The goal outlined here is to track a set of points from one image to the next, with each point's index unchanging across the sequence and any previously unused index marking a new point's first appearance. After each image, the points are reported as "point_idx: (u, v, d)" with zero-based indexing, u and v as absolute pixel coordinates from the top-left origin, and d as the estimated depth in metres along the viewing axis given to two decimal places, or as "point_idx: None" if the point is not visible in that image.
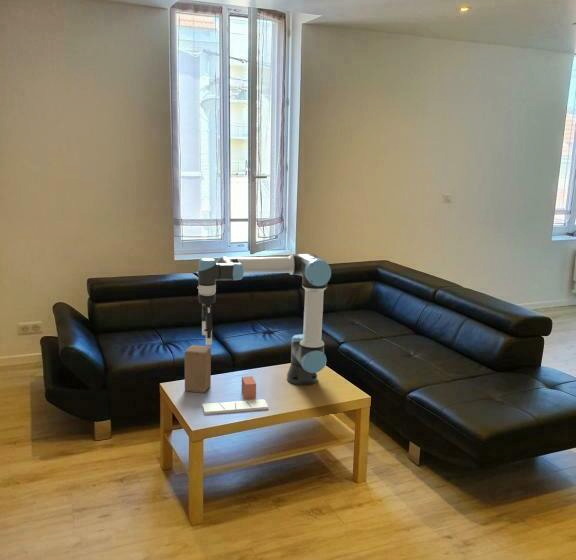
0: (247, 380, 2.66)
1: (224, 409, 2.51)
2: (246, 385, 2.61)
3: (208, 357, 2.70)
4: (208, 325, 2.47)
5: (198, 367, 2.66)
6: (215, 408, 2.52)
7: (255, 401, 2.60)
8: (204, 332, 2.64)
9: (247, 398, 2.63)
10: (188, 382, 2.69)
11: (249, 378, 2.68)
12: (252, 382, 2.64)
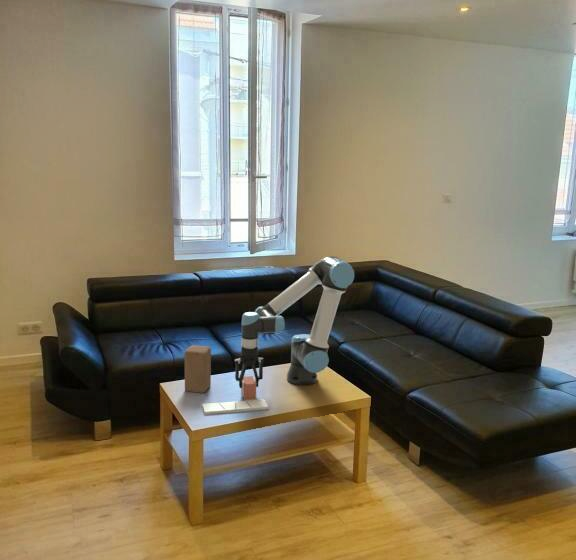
0: (247, 380, 2.66)
1: (224, 409, 2.51)
2: (246, 385, 2.61)
3: (208, 357, 2.70)
4: (235, 375, 2.64)
5: (198, 367, 2.66)
6: (215, 408, 2.52)
7: (255, 401, 2.60)
8: None
9: (247, 398, 2.63)
10: (188, 382, 2.69)
11: (249, 378, 2.68)
12: (252, 382, 2.64)
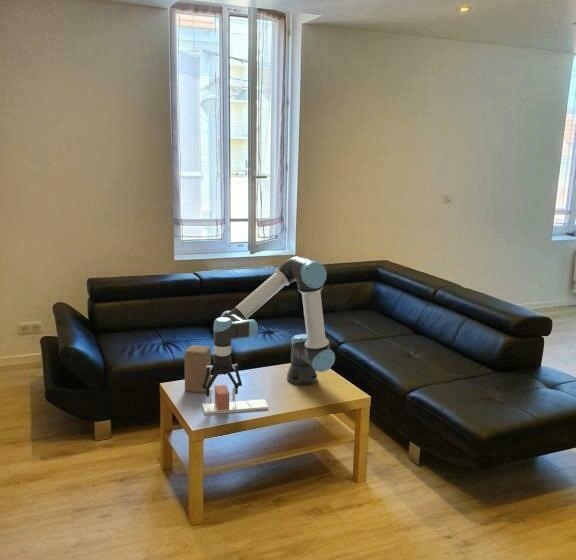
0: (220, 389, 2.51)
1: None
2: (219, 395, 2.47)
3: (208, 357, 2.70)
4: (203, 382, 2.49)
5: (198, 367, 2.66)
6: (215, 408, 2.52)
7: (255, 401, 2.60)
8: None
9: (220, 408, 2.49)
10: (188, 382, 2.69)
11: (222, 387, 2.54)
12: (225, 391, 2.50)
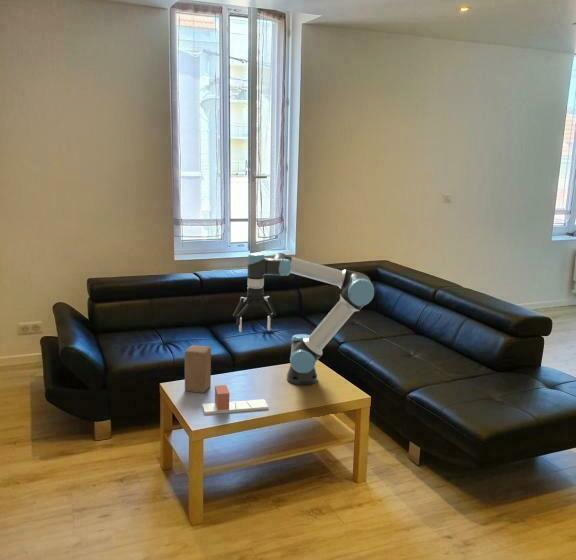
0: (220, 389, 2.51)
1: None
2: (219, 395, 2.47)
3: (208, 357, 2.70)
4: None
5: (198, 367, 2.66)
6: (215, 408, 2.52)
7: (255, 401, 2.60)
8: (267, 327, 2.72)
9: (220, 408, 2.49)
10: (188, 382, 2.69)
11: (222, 387, 2.54)
12: (225, 391, 2.50)
